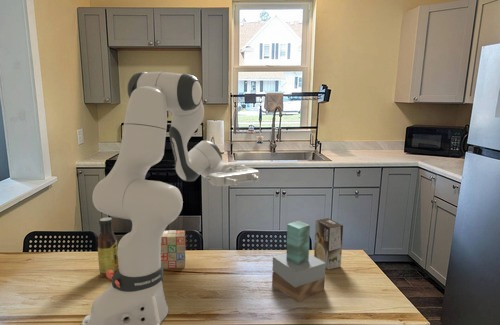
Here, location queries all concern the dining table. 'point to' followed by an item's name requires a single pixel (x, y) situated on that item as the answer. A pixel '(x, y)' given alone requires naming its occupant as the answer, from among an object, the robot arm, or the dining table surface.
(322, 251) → the coffee box
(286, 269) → the tower top
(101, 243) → the sauce bottle
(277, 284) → the tower base
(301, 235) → the teal block
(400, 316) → the dining table surface
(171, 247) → the stack of blocks
